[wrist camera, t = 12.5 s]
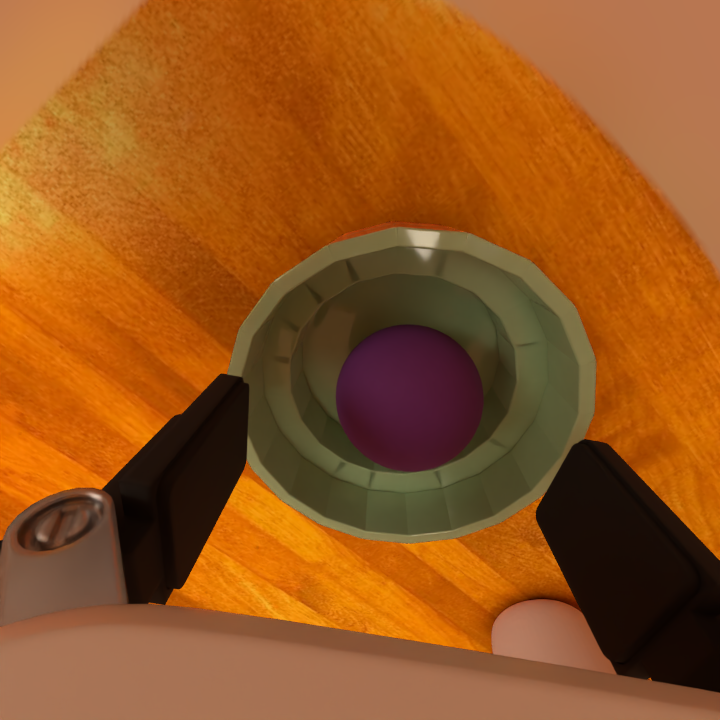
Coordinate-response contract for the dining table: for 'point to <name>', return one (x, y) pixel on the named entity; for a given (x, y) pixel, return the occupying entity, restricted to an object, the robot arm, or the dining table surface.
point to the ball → (409, 398)
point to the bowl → (431, 309)
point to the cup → (548, 635)
